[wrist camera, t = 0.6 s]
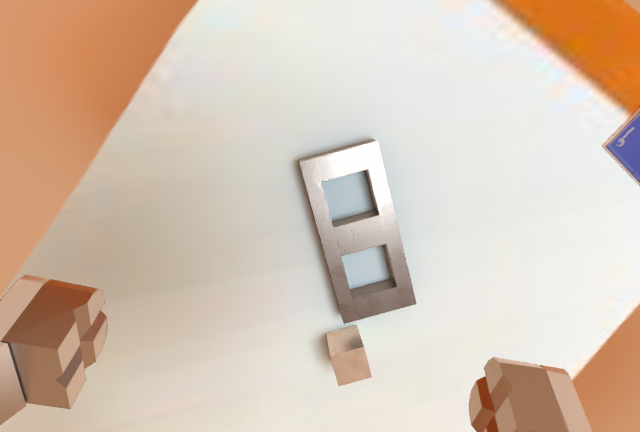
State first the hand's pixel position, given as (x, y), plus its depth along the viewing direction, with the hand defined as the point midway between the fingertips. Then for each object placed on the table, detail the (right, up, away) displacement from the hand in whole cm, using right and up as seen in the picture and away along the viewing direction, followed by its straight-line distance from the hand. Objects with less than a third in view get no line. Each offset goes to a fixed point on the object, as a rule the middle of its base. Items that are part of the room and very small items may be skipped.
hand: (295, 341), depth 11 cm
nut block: (+4, -14, +53) cm, 55 cm away
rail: (+5, +1, +50) cm, 50 cm away
